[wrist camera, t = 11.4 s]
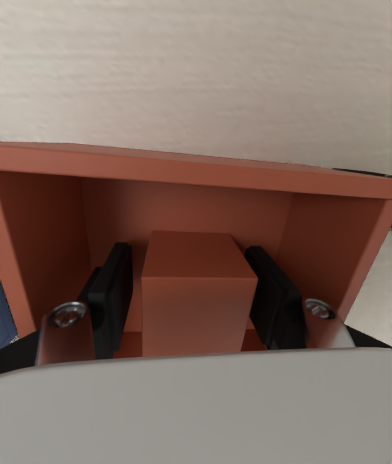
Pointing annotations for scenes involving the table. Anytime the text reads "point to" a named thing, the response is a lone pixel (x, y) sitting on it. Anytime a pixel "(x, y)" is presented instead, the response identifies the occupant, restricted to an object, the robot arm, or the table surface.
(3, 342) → the slate bin
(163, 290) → the terracotta block
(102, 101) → the table surface
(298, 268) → the terracotta bin
